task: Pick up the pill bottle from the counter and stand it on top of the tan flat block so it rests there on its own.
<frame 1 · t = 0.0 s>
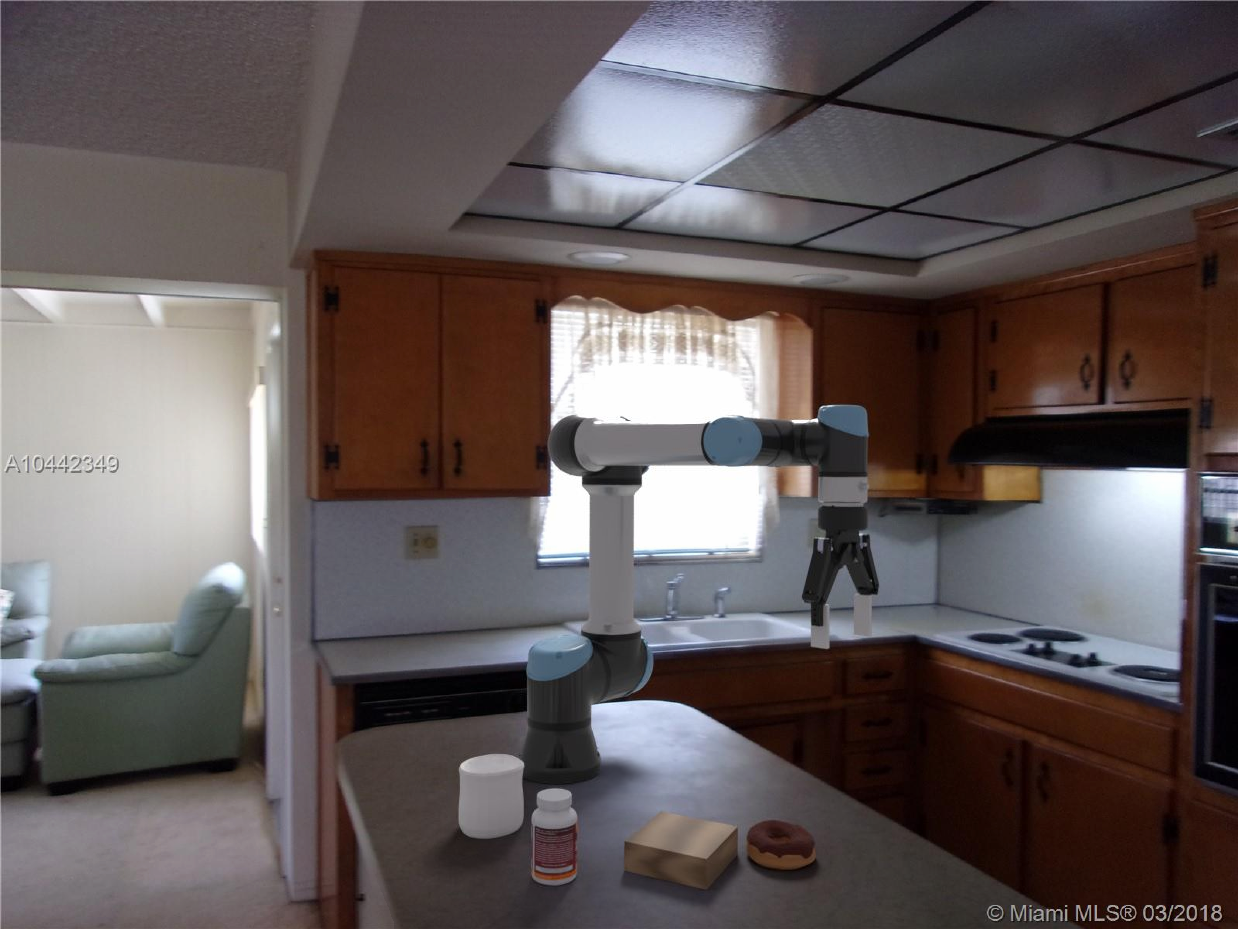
hand: (842, 641, 140), 28 cm above the counter, fingers open, 13 cm apart
donut: (780, 859, 128), on the counter
tan flat block: (682, 862, 126), on the counter
cup: (491, 828, 138), on the counter
pill bottle: (554, 878, 121), on the counter
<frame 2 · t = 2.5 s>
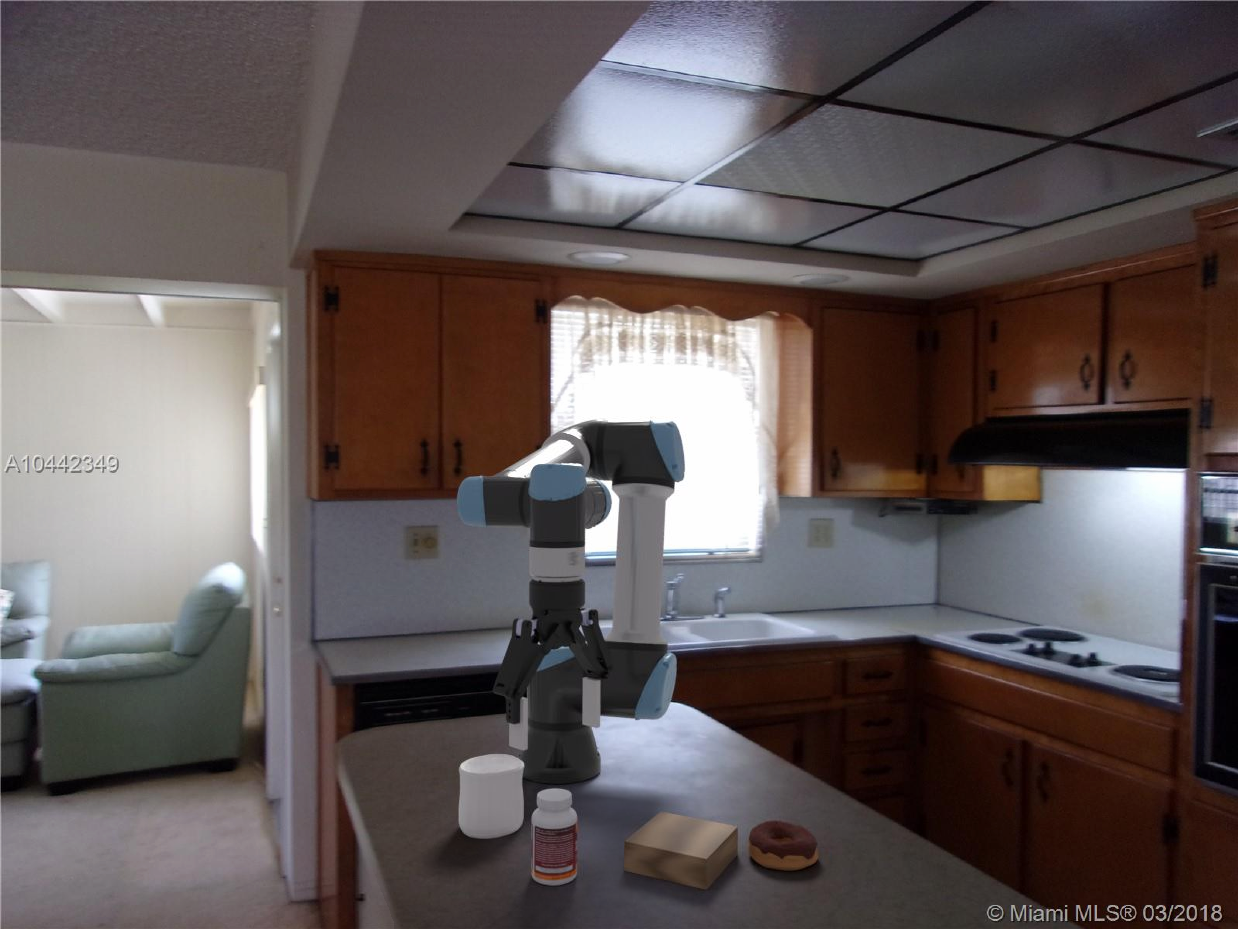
hand: (556, 736, 121), 19 cm above the counter, fingers open, 13 cm apart
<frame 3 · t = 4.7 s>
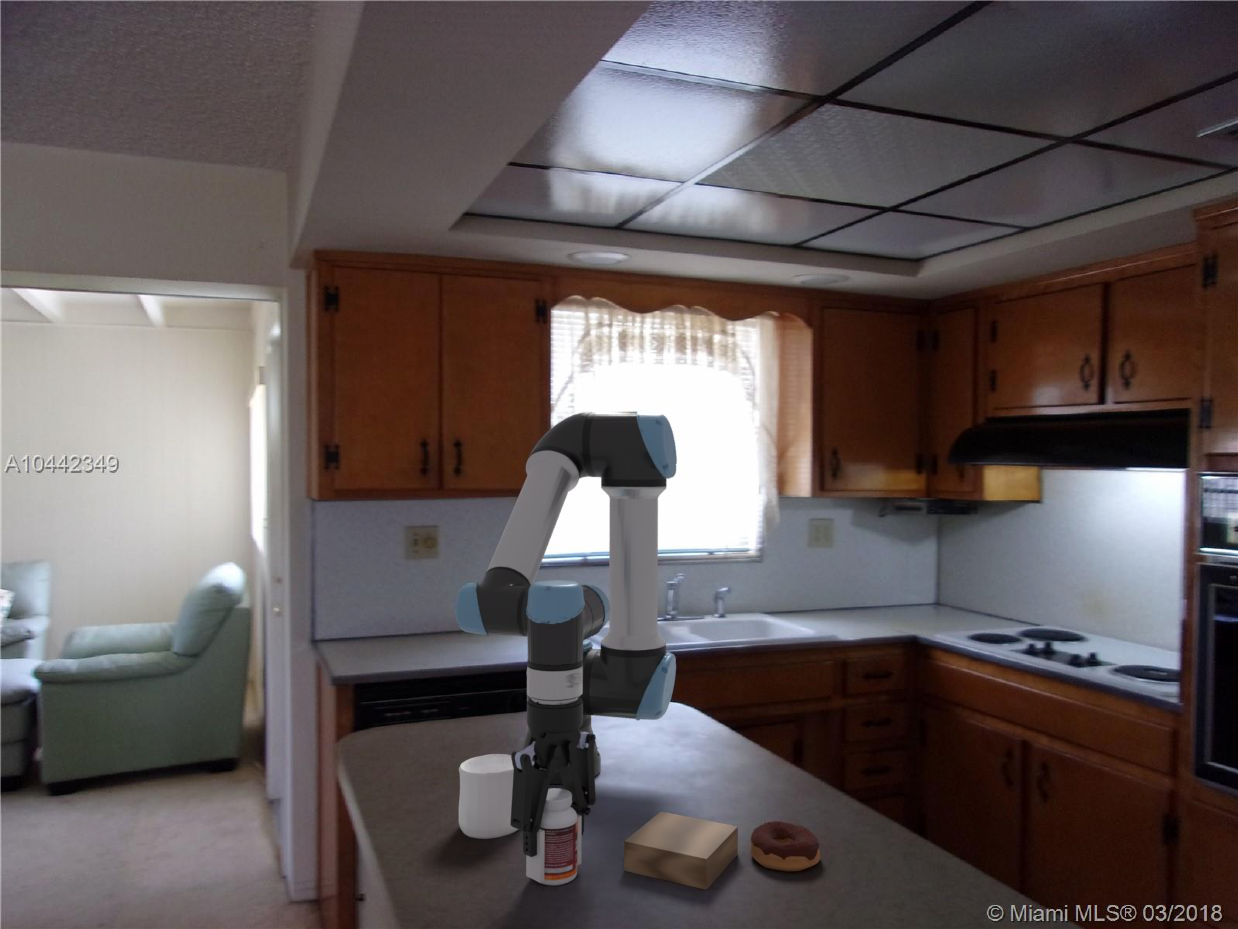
hand: (554, 869, 121), 1 cm above the counter, fingers closed on pill bottle, 6 cm apart
pill bottle: (554, 878, 121), on the counter, touching gripper
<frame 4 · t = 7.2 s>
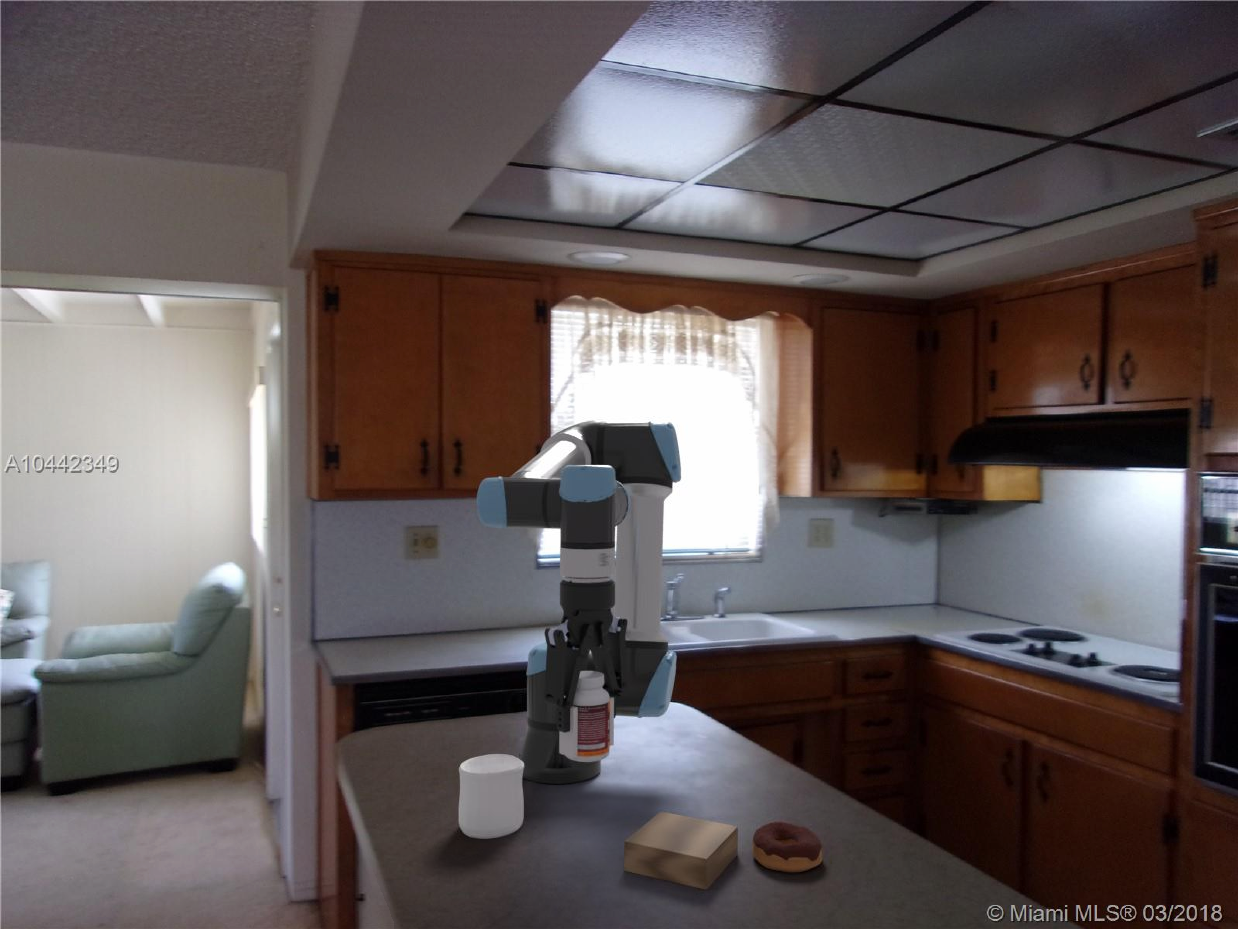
hand: (586, 748, 122), 17 cm above the counter, fingers closed on pill bottle, 6 cm apart
pill bottle: (586, 757, 122), point 16 cm above the counter, touching gripper
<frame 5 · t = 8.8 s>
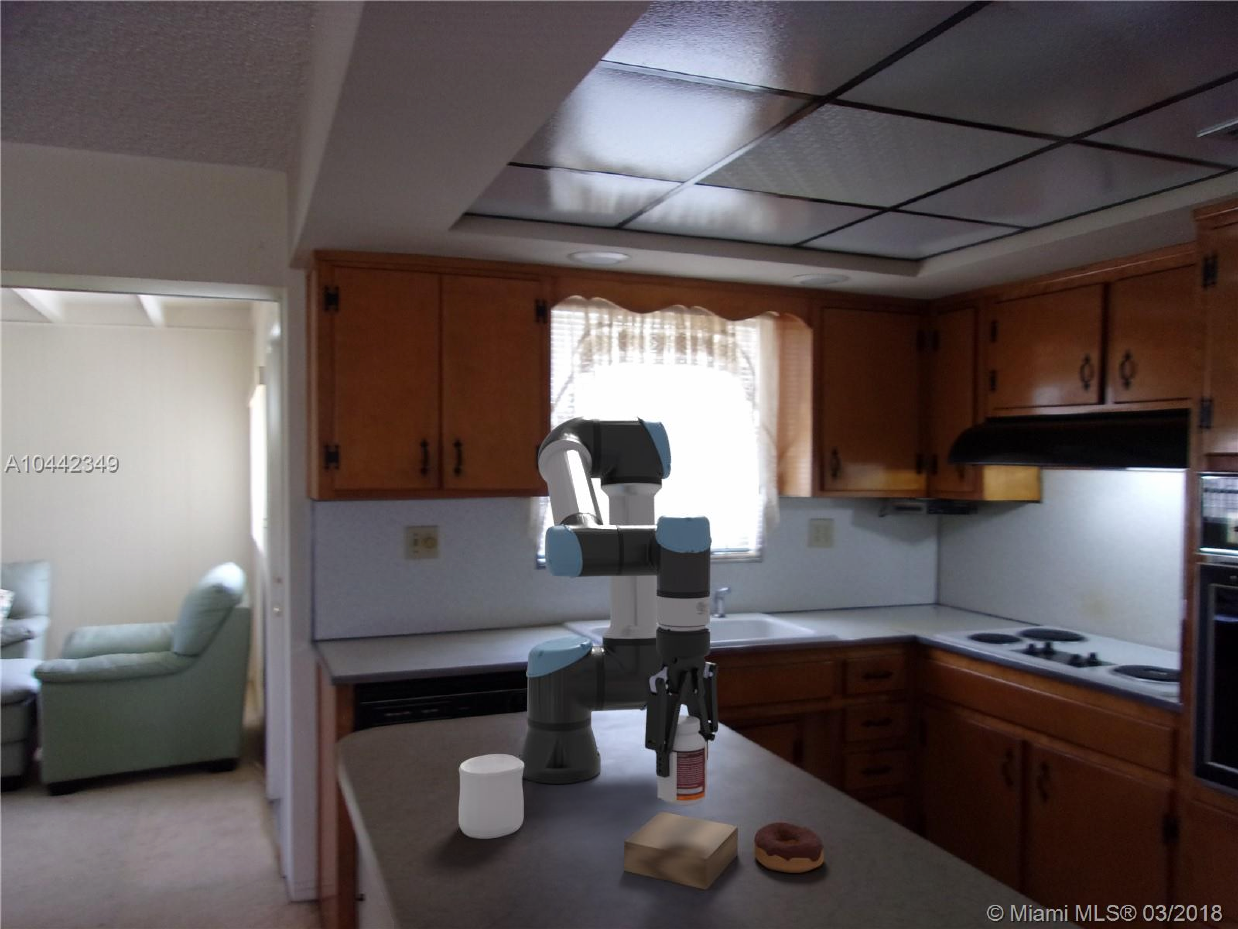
hand: (682, 792, 125), 10 cm above the counter, fingers closed on pill bottle, 6 cm apart
pill bottle: (682, 800, 125), point 9 cm above the counter, touching gripper
when the fingers open (6 cm above the counter, at t = 10.0 s): pill bottle stays where it is, resting on tan flat block.
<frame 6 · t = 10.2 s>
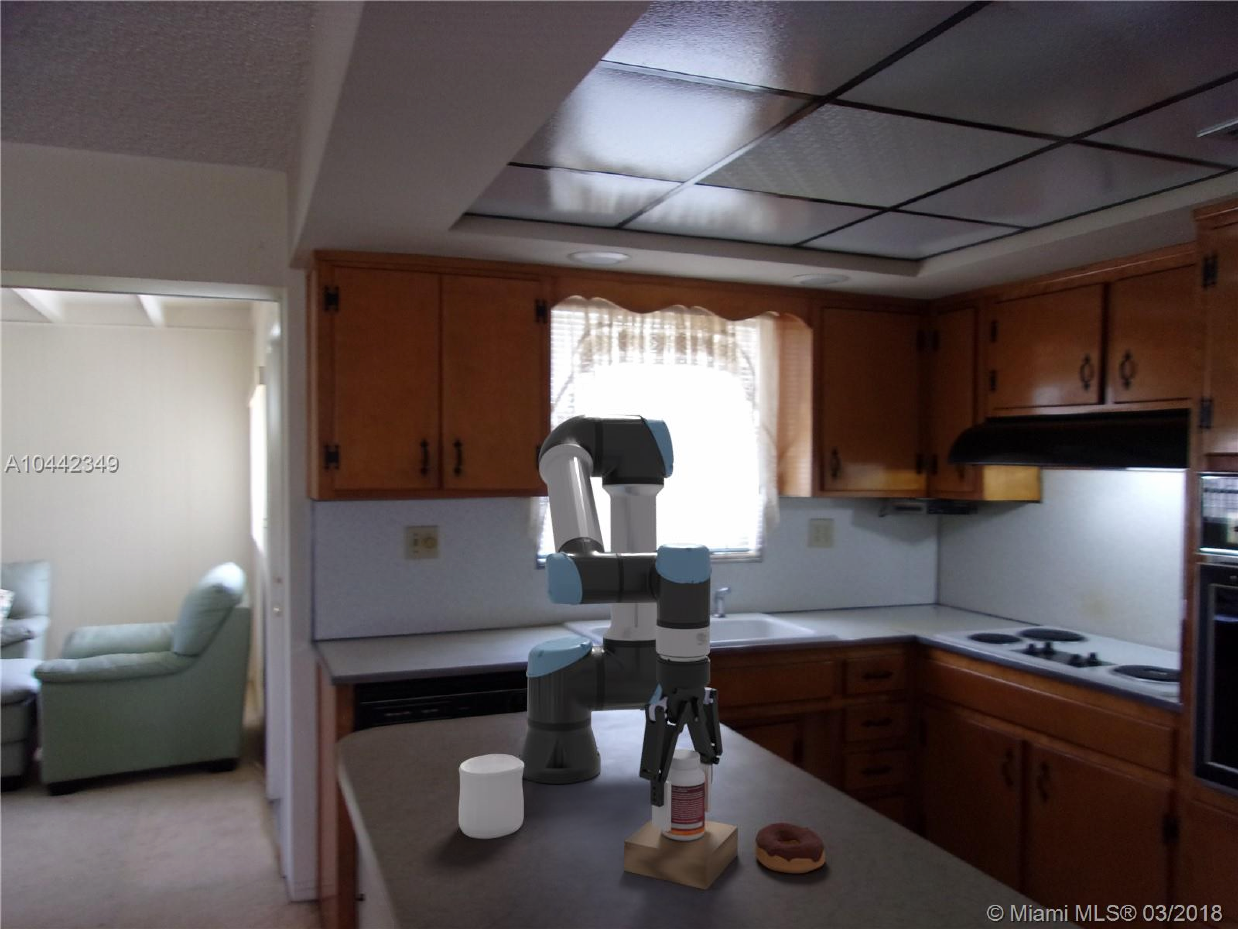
hand: (682, 818, 126), 6 cm above the counter, fingers open, 8 cm apart
pill bottle: (682, 834, 126), point 4 cm above the counter, touching tan flat block
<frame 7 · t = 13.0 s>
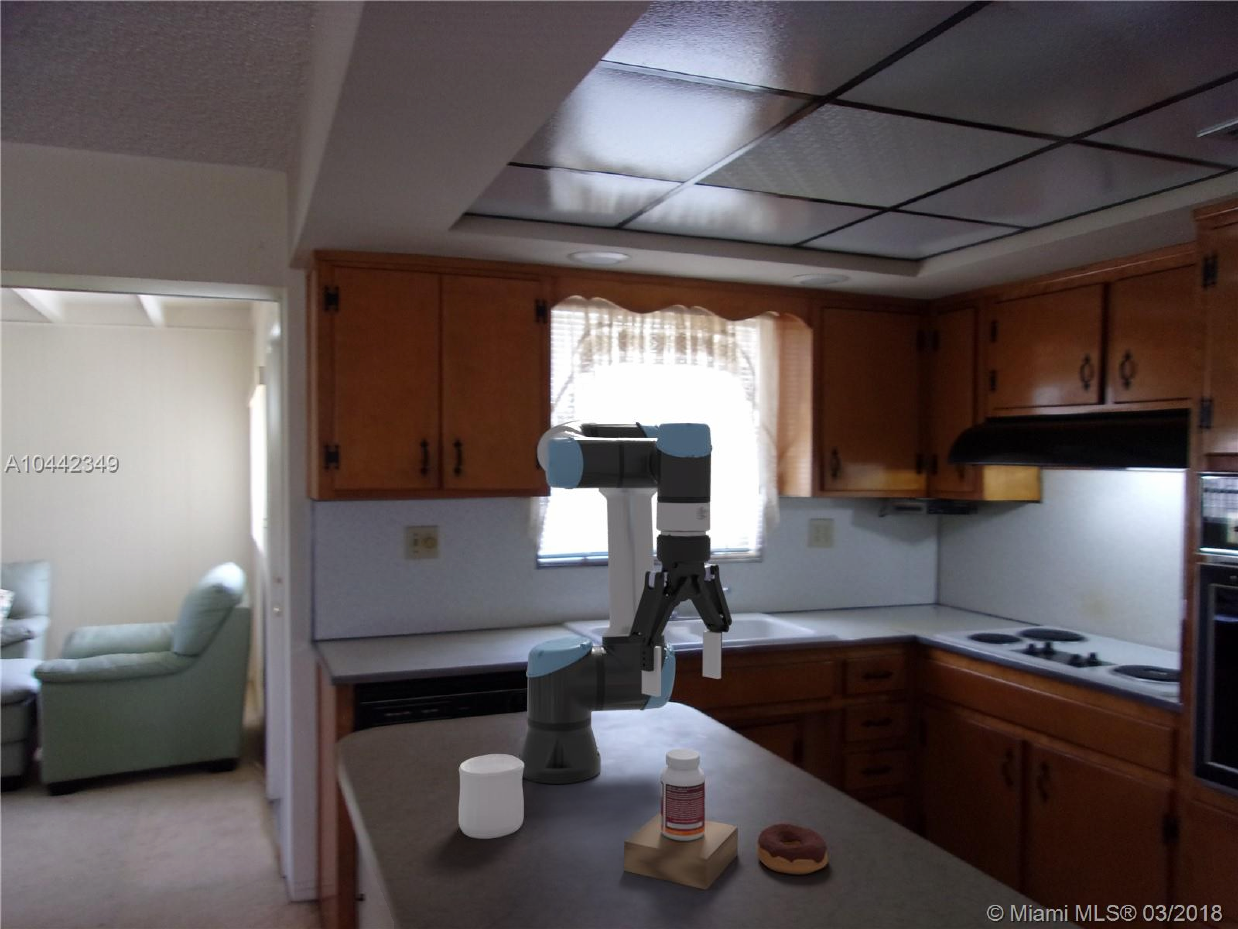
hand: (682, 685, 126), 25 cm above the counter, fingers open, 13 cm apart
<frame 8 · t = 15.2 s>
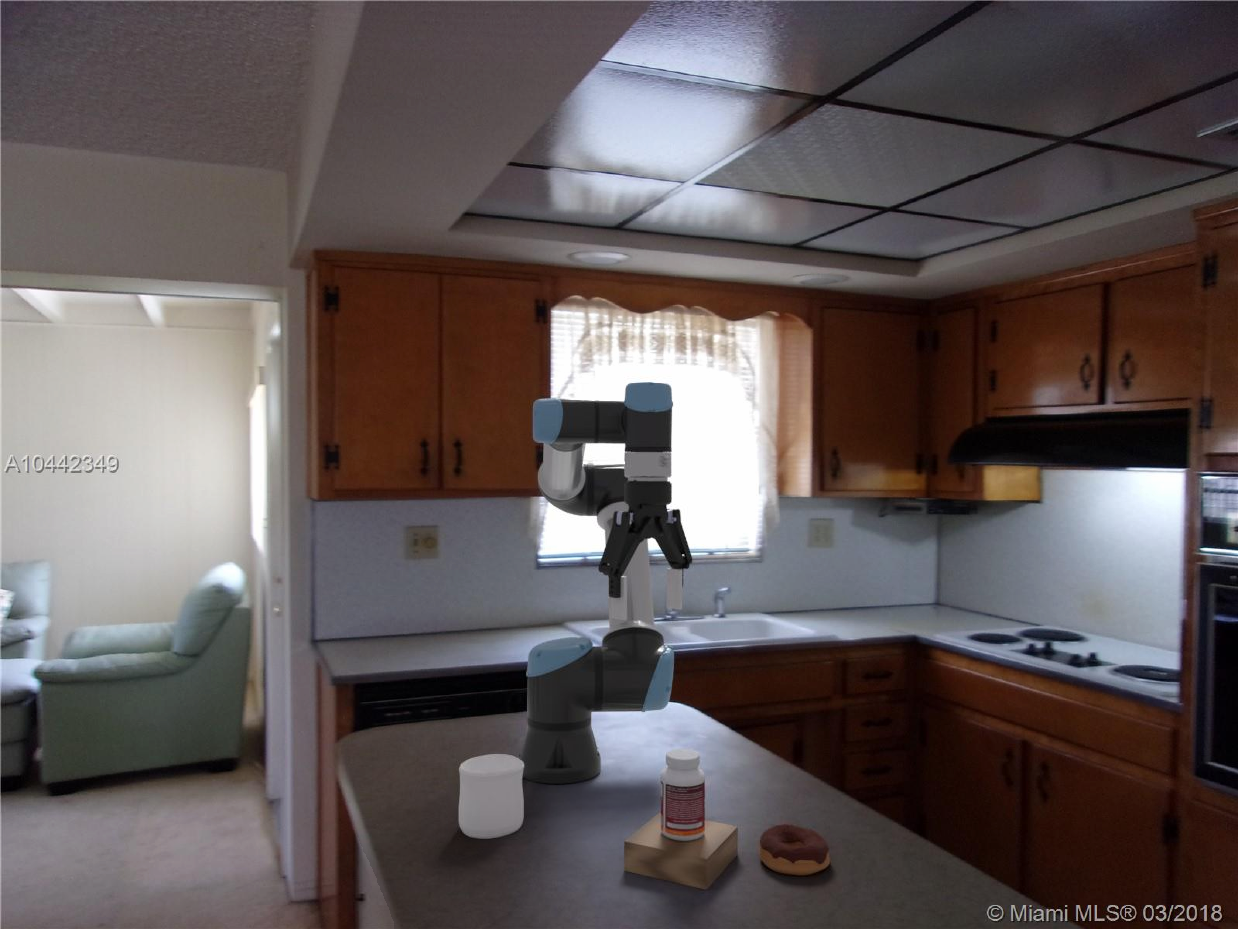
hand: (647, 613, 143), 32 cm above the counter, fingers open, 13 cm apart
at the end: pill bottle 0.1 cm from the tan flat block (horizontally); pill bottle point 3.8 cm above the counter; pill bottle tilted 0° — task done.
